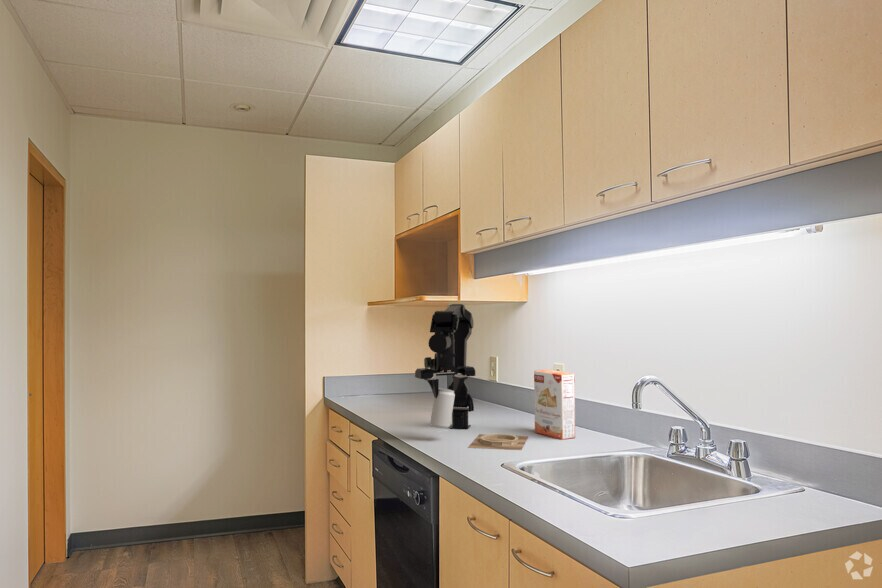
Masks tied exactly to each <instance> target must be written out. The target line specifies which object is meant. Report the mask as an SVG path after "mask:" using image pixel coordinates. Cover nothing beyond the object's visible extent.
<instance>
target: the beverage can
mask: <svg viewBox="0 0 882 588" xmlns="http://www.w3.org/2000/svg"><path fill="white" fill-rule="evenodd" d="M454 398H455V394H454V390H450V389H448V388H443V387H441V388H440V387H439V394H438V397H437V399H436V398H435V397H433V403H432V404H433V405H432V410H431V415H430V422H429V424H431V426H432V427H434V428H438V429H448V428H450V427H451V425H452V411H453V405H454Z"/></svg>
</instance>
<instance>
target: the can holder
mask: <svg viewBox="0 0 882 588" xmlns="http://www.w3.org/2000/svg"><path fill="white" fill-rule="evenodd" d="M528 439H529V435H513V434H508V433H491V434H490V433H489V434H483V433H482V434H480V433H479V434H478V435H477V436H476V437H475V438H474V439H473V441H472V442H471V443H470V444H469V445H468V447H467V449H485V450H486V449H487V450H504V451H505V450H506V451H507V450H508V451H509V450H510V451H522V450H523V448H524V447H525V445H526V442H527V441H528Z"/></svg>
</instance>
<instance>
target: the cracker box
mask: <svg viewBox="0 0 882 588" xmlns="http://www.w3.org/2000/svg"><path fill="white" fill-rule="evenodd" d="M575 381H576V380H575V373H573V372H565V371H559V370H553V369H536V370H534V371H533V387H534V388H533V389H534V390H533V391H534V393H533V394H534V433H536V434H540V435H544V436H547V437H551V438H554V439H558V440H561V441H563V440H570V439H575V438H576V396H575V395H576V394H575V393H576V392H575V390H576V388H575V387H576V386H575V385H576V384H575Z"/></svg>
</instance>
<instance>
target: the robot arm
mask: <svg viewBox="0 0 882 588" xmlns="http://www.w3.org/2000/svg"><path fill="white" fill-rule="evenodd" d="M473 328H474V317H473V314H472V312H470V311H469V310H468V309H467V308H466V306H465V305H464V304H463V303H451V304H449V306H448V307H447V308H446V309H445V310H435V311H434V313H433V314H432V317H431V323H430V329H429V332H430V333H434V334H433V335H431V336H430V337H429V339H428V341H427V343H428V348H429V349H430V350H431V351H432V352H434V357H433V358H432V357H431V356H427V357H425V358H424V360H423V362H424V363H423V365H424V367H423V368H422V367H420V368H416V370H415V371H414V372H415V373H414V378H415V379H420V380H424V381H426V382H427V383H428V384H429V386H430V388H431V392H432V393H433V396H434V397H435V398H436V399H437V397H438V394H439V388H440V387H439V380H440V379H438V378H437V377H438V376H452V382H451V384H450V385H448V387H447V389H450V390H454V394H455V398H454V405H453V411H452V417H451V425H450V427H448V428H449V429H450V430H469V429H470V428H471V427H472V426H471V424H469V413H470V412H474V411H475V404H474V400H473V397H472V394H471V390H470V387H469V385H468V383H467V380H468V379H469V378H468V377H476V369H475V367H474V366H470V365H467V349H468V347H467V346H468V345H467V344H468V340H469V338H470V337H471V335H472V333H473V332H472V331H473ZM434 397H433V398H434Z"/></svg>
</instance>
